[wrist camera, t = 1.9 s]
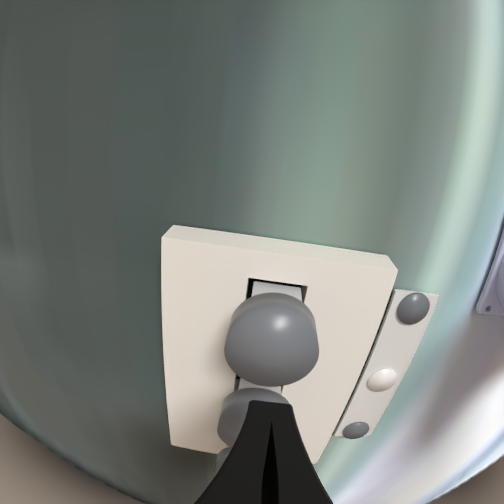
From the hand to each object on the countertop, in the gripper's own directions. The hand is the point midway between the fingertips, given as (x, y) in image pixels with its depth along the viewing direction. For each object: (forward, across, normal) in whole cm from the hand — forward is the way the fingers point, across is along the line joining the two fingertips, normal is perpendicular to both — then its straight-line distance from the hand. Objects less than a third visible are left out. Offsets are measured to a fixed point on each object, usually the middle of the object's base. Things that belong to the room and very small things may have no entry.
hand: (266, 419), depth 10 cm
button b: (+8, 0, +6) cm, 10 cm away
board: (+9, 0, +6) cm, 11 cm away
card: (+9, -9, +6) cm, 14 cm away
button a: (+8, 0, 0) cm, 8 cm away
